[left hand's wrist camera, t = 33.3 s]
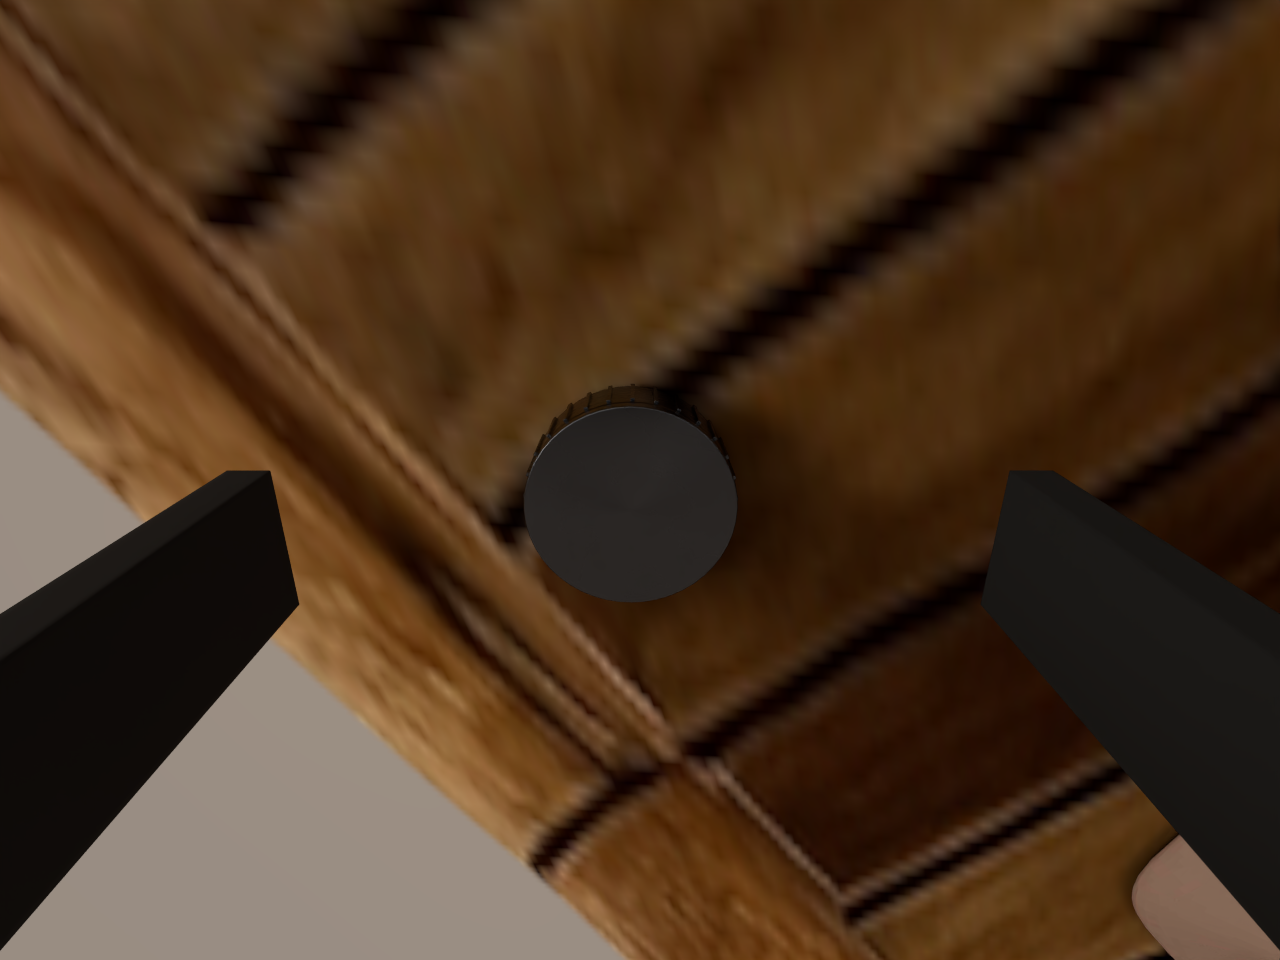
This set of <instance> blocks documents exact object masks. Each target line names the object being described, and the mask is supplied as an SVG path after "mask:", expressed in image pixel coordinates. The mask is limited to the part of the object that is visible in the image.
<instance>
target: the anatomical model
mask: <svg viewBox="0 0 1280 960" xmlns="http://www.w3.org/2000/svg"><path fill="white" fill-rule="evenodd" d="M1132 902H1133V906H1134V908H1135V911H1136V913H1137V915H1138V916H1139V918H1140V919H1141V921H1142V923H1143V924H1144V926H1145V927H1146V928H1147V930H1148V931H1149V932H1150V933H1151V934H1152V935H1153V936H1154V937H1155V939H1156V940H1157V941H1158V942H1159V943H1160V944H1161V945H1162V946H1163V948H1164V949H1165V950H1166V951H1167V952H1168V953H1169V954H1170V955H1171V956H1172V957H1173V958H1174V959H1175V960H1280V950H1279V949H1278V948H1277V947H1276V946H1275V945H1274V943H1273V942H1272V941H1271V940H1270V939H1269V938H1268V936H1267V935H1266V934H1265V933H1264V932H1263V931H1262V929H1261V928H1260V927H1259V926H1258V925H1257V924H1256V923H1255V921H1254V920H1253V919H1252V918H1251V917H1250V916H1249V914H1248V913H1247V912H1246V911H1245V910H1244V909H1243V907H1242V906H1241V905H1240V904H1239V903H1238V902H1237V901H1236V899H1235V898H1234V897H1233V896H1232V895H1231V894H1230V892H1229V891H1228V890H1227V889H1226V888H1225V887H1224V885H1223V884H1222V883H1221V882H1220V881H1219V880H1218V879H1217V877H1216V876H1215V875H1214V874H1213V873H1212V872H1211V870H1210V869H1209V868H1208V867H1207V866H1206V865H1205V863H1204V862H1203V861H1202V860H1201V859H1200V858H1199V857H1198V855H1197V854H1196V853H1195V852H1194V851H1193V850H1192V848H1191V847H1190V846H1189V845H1188V844H1187V843H1186V841H1185V840H1184V839H1183V838H1182V837H1181V836H1180V835H1178V836H1177V837H1176V838H1175V839H1174V840H1172V841H1171V842H1170V843H1169V844H1168V845H1167V846H1166V847H1164V848H1163V849H1162V850H1161V851H1160V852H1159V853H1158V854H1157V855H1155V856H1154V857H1153V858H1152V859H1151V860H1150V861H1149V863H1148V864H1147V865H1146V866H1145V868H1144V869H1143V870H1142V871H1141V873H1140V874H1139V875H1138V877H1137V879H1136V882H1135V884H1134V886H1133V891H1132Z"/></svg>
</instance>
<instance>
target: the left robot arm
mask: <svg viewBox="0 0 1280 960" xmlns="http://www.w3.org/2000/svg"><path fill="white" fill-rule="evenodd" d="M298 605H299V601H298V596H297V592H296V587H295V582H294V578H293V573H292V569H291V564H290V559H289V555H288V550H287V545H286V541H285V536H284V532H283V527H282V522H281V518H280V513H279V509H278V504H277V499H276V495H275V490H274V486H273V481H272V476H271V472H270V471H226V472H224V473H223V474H221V475H219V476H218V477H216V478H215V479H213V480H212V481H210V482H208V483H207V484H205V485H204V486H202V487H200V488H199V489H197V490H196V491H194V492H193V493H191V494H189V495H188V496H186V497H185V498H183V499H181V500H180V501H178V502H177V503H175V504H174V505H172V506H170V507H169V508H167V509H166V510H164V511H162V512H161V513H159V514H158V515H156V516H155V517H153V518H151V519H150V520H148V521H147V522H145V523H143V524H142V525H140V526H139V527H137V528H136V529H134V530H132V531H131V532H129V533H128V534H126V535H124V536H123V537H121V538H120V539H118V540H117V541H115V542H113V543H112V544H110V545H109V546H107V547H105V548H104V549H102V550H101V551H99V552H98V553H96V554H94V555H93V556H91V557H90V558H88V559H87V560H85V561H83V562H82V563H80V564H79V565H77V566H75V567H74V568H72V569H71V570H69V571H68V572H66V573H64V574H63V575H61V576H60V577H58V578H56V579H55V580H53V581H52V582H50V583H49V584H47V585H45V586H44V587H42V588H41V589H39V590H38V591H36V592H34V593H33V594H31V595H30V596H28V597H26V598H25V599H23V600H22V601H20V602H18V603H17V604H15V605H14V606H12V607H11V608H9V609H7V610H6V611H4V612H3V613H1V614H0V950H1V949H2V948H3V947H4V946H5V945H6V943H7V942H8V941H9V940H10V939H11V937H12V936H13V935H14V934H15V933H16V932H17V931H18V929H19V928H20V927H21V926H22V925H23V924H24V923H25V921H26V920H27V919H28V918H29V917H30V916H31V914H32V913H33V912H34V911H35V910H36V909H37V907H38V906H39V905H40V904H41V903H42V902H43V901H44V899H45V898H46V897H47V896H48V895H49V893H50V892H51V891H52V890H53V889H54V888H55V887H56V885H57V884H58V883H59V882H60V881H61V880H62V879H63V877H64V876H65V875H66V874H67V873H68V872H69V870H70V869H71V868H72V867H73V866H74V865H75V863H76V862H77V861H78V860H79V859H80V858H81V856H82V855H83V854H84V853H85V852H86V851H87V849H88V848H89V847H90V846H91V845H92V844H93V843H94V841H95V840H96V839H97V838H98V837H99V836H100V835H101V833H102V832H103V831H104V830H105V829H106V827H107V826H108V825H109V824H110V823H111V822H112V821H113V819H114V818H115V817H116V816H117V815H118V814H119V813H120V811H121V810H122V809H123V808H124V807H125V806H126V804H127V803H128V802H129V801H130V800H131V799H132V797H133V796H134V795H135V794H136V793H137V792H138V790H139V789H140V788H141V787H142V786H143V785H144V784H145V782H146V781H147V780H148V779H149V778H150V777H151V775H152V774H153V773H154V772H155V771H156V770H157V769H158V767H159V766H160V765H161V764H162V763H163V762H164V760H165V759H166V758H167V757H168V756H169V755H170V753H171V752H172V751H173V750H174V749H175V748H176V747H177V745H178V744H179V743H180V742H181V741H182V740H183V738H184V737H185V736H186V735H187V734H188V733H189V731H190V730H191V729H192V728H193V727H194V726H195V725H196V723H197V722H198V721H199V720H200V719H201V718H202V716H203V715H204V714H205V713H206V712H207V711H208V709H209V708H210V707H211V706H212V705H213V704H214V702H215V701H216V700H217V699H218V698H219V697H220V696H221V694H222V693H223V692H224V691H225V690H226V689H227V687H228V686H229V685H230V684H231V683H232V682H233V681H234V679H235V678H236V677H237V676H238V675H239V674H240V672H241V671H242V670H243V669H244V668H245V667H246V665H247V664H248V663H249V662H250V661H251V660H252V659H253V657H254V656H255V655H256V654H257V653H258V652H259V650H260V649H261V648H262V647H263V646H264V645H265V643H266V642H267V641H268V640H269V639H270V638H271V637H272V635H273V634H274V633H275V632H276V631H277V630H278V628H279V627H280V626H281V625H282V624H283V623H284V621H285V620H286V619H287V618H288V617H289V616H290V615H291V613H292V612H293V611H294V610H295V609H296V608H297V606H298ZM981 605H982V606H983V608H984V609H985V610H986V611H987V612H988V613H989V615H990V616H991V617H992V618H993V619H994V620H995V621H996V623H997V624H998V625H999V626H1000V627H1001V628H1002V630H1003V631H1004V632H1005V633H1006V634H1007V635H1008V637H1009V638H1010V639H1011V640H1012V641H1013V642H1014V643H1015V645H1016V646H1017V647H1018V648H1019V649H1020V650H1021V652H1022V653H1023V654H1024V655H1025V656H1026V657H1027V659H1028V660H1029V661H1030V662H1031V663H1032V664H1033V665H1034V667H1035V668H1036V669H1037V670H1038V671H1039V672H1040V674H1041V675H1042V676H1043V677H1044V678H1045V679H1046V681H1047V682H1048V683H1049V684H1050V685H1051V686H1052V687H1053V689H1054V690H1055V691H1056V692H1057V693H1058V694H1059V696H1060V697H1061V698H1062V699H1063V700H1064V701H1065V703H1066V704H1067V705H1068V706H1069V707H1070V708H1071V709H1072V711H1073V712H1074V713H1075V714H1076V715H1077V716H1078V718H1079V719H1080V720H1081V721H1082V722H1083V723H1084V725H1085V726H1086V727H1087V728H1088V729H1089V730H1090V731H1091V733H1092V734H1093V735H1094V736H1095V737H1096V738H1097V740H1098V741H1099V742H1100V743H1101V744H1102V745H1103V747H1104V748H1105V749H1106V750H1107V751H1108V752H1109V753H1110V755H1111V756H1112V757H1113V758H1114V759H1115V760H1116V762H1117V763H1118V764H1119V765H1120V766H1121V767H1122V769H1123V770H1124V771H1125V772H1126V773H1127V774H1128V775H1129V777H1130V778H1131V779H1132V780H1133V781H1134V782H1135V784H1136V785H1137V786H1138V787H1139V788H1140V789H1141V791H1142V792H1143V793H1144V794H1145V795H1146V796H1147V797H1148V799H1149V800H1150V801H1151V802H1152V803H1153V804H1154V806H1155V807H1156V808H1157V809H1158V810H1159V811H1160V813H1161V814H1162V815H1163V816H1164V817H1165V818H1166V819H1167V821H1168V822H1169V823H1170V824H1171V825H1172V826H1173V828H1174V829H1175V830H1176V831H1177V832H1178V833H1179V835H1180V836H1181V837H1182V838H1183V839H1184V840H1185V841H1186V843H1187V844H1188V845H1189V846H1190V847H1191V848H1192V850H1193V851H1194V852H1195V853H1196V854H1197V855H1198V857H1199V858H1200V859H1201V860H1202V861H1203V862H1204V863H1205V865H1206V866H1207V867H1208V868H1209V869H1210V870H1211V872H1212V873H1213V874H1214V875H1215V876H1216V877H1217V879H1218V880H1219V881H1220V882H1221V883H1222V884H1223V885H1224V887H1225V888H1226V889H1227V890H1228V891H1229V892H1230V894H1231V895H1232V896H1233V897H1234V898H1235V899H1236V901H1237V902H1238V903H1239V904H1240V905H1241V906H1242V907H1243V909H1244V910H1245V911H1246V912H1247V913H1248V914H1249V916H1250V917H1251V918H1252V919H1253V920H1254V921H1255V923H1256V924H1257V925H1258V926H1259V927H1260V928H1261V929H1262V931H1263V932H1264V933H1265V934H1266V935H1267V936H1268V938H1269V939H1270V940H1271V941H1272V942H1273V943H1274V945H1275V946H1276V947H1277V948H1278V949H1279V950H1280V614H1279V613H1277V612H1276V611H1274V610H1273V609H1271V608H1269V607H1268V606H1266V605H1265V604H1263V603H1262V602H1260V601H1258V600H1257V599H1255V598H1254V597H1252V596H1250V595H1249V594H1247V593H1246V592H1244V591H1243V590H1241V589H1239V588H1238V587H1236V586H1235V585H1233V584H1231V583H1230V582H1228V581H1227V580H1225V579H1224V578H1222V577H1220V576H1219V575H1217V574H1216V573H1214V572H1212V571H1211V570H1209V569H1208V568H1206V567H1205V566H1203V565H1201V564H1200V563H1198V562H1197V561H1195V560H1194V559H1192V558H1190V557H1189V556H1187V555H1186V554H1184V553H1182V552H1181V551H1179V550H1178V549H1176V548H1175V547H1173V546H1171V545H1170V544H1168V543H1167V542H1165V541H1163V540H1162V539H1160V538H1159V537H1157V536H1156V535H1154V534H1152V533H1151V532H1149V531H1148V530H1146V529H1144V528H1143V527H1141V526H1140V525H1138V524H1137V523H1135V522H1133V521H1132V520H1130V519H1129V518H1127V517H1125V516H1124V515H1122V514H1121V513H1119V512H1118V511H1116V510H1114V509H1113V508H1111V507H1110V506H1108V505H1106V504H1105V503H1103V502H1102V501H1100V500H1099V499H1097V498H1095V497H1094V496H1092V495H1091V494H1089V493H1087V492H1086V491H1084V490H1083V489H1081V488H1080V487H1078V486H1076V485H1075V484H1073V483H1072V482H1070V481H1068V480H1067V479H1065V478H1064V477H1062V476H1061V475H1059V474H1057V473H1056V472H1054V471H1010V472H1009V476H1008V481H1007V486H1006V490H1005V495H1004V499H1003V504H1002V509H1001V513H1000V518H999V522H998V527H997V532H996V536H995V541H994V545H993V550H992V555H991V559H990V564H989V569H988V573H987V578H986V582H985V587H984V592H983V596H982V601H981Z"/></svg>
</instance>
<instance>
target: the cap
mask: <svg viewBox="0 0 1280 960" xmlns="http://www.w3.org/2000/svg"><path fill="white" fill-rule="evenodd" d="M526 476H528V479H527V482H526V486H525V492H524V514H525V521H526V526H527V529H528V532H529V536H530V538H531V540H532V542H533V544H534V547H535V548H536V550H537V552H538V553H539V555H540V556H541V558H542V559H543V561H544V562H545V563H546V564H547V565H548V567H549V568H550V569H551V570H552V571H553V572H554V573H555V574H557V575H558V576H559V577H560V578H561V579H563V580H564V581H565V582H567V583H568V584H570V585H571V586H573V587H575V588H577V589H578V590H580V591H582V592H585V593H587V594H589V595H592V596H595V597H598V598H602V599H606V600H611V601H618V602H644V601H650V600H656V599H660V598H663V597H667V596H670V595H672V594H675V593H677V592H679V591H682V590H684V589H685V588H687V587H689V586H690V585H692V584H694V583H695V582H696V581H698V580H699V579H700V578H702V577H703V576H704V575H705V574H706V573H707V572H708V571H709V570H710V569H711V568H712V567H713V566H714V565H715V564H716V562H717V561H718V560H719V559H720V557H721V556H722V554H723V553H724V551H725V549H726V547H727V546H728V544H729V541H730V539H731V536H732V534H733V531H734V527H735V523H736V517H737V509H738V506H737V501H738V496H737V491H736V485H735V481H734V480H735V479H736V476H735V474H734V471H733V468H732V466H731V463H730V461H729V456H728V454H727V451H726V448H725V446H724V443H723V441H722V439H721V437H720V438H718V437H717V435H716V433H715V431H714V428H713V426H712V423H711V421H710V420H708V421H706V419H705V418H704V417H703V416H702V415H701V414H700V413H699V412H698V411H697V408H696V406H695V405H693V406H691V405H689V404H687V403H686V402H684V401H683V400H681V399H679V398H678V395H677V394H674V396H673V395H671V394H669V393H666V392H663V391H660V390H657V387H653V389H651V388H646V387H635V384H631V386H626V387H615V388H613V387H612V386H609V387H608V389H606V390H602V391H599V392H596V393H593V394H591V392H589V393H587V397H585V398H583V399H581V400H579V401H577V402H576V403H575V404H572V403H570V404H569V405H568V408H567V409H566V410H565V411H564V412H563V413H562V414H561V415H560V416H559V417H558V418H556V417H555V418H554V419H553V420H552V423H551V425H550V428H549V430H548V432H547V433H546V435H544V434H543V435H542V437H541V439H540V441H539V444H538V446H537V448H536V451H535V453H534V457H533V459H532V462H531V464H530V466H529V469H528V471H527V474H526Z"/></svg>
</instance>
